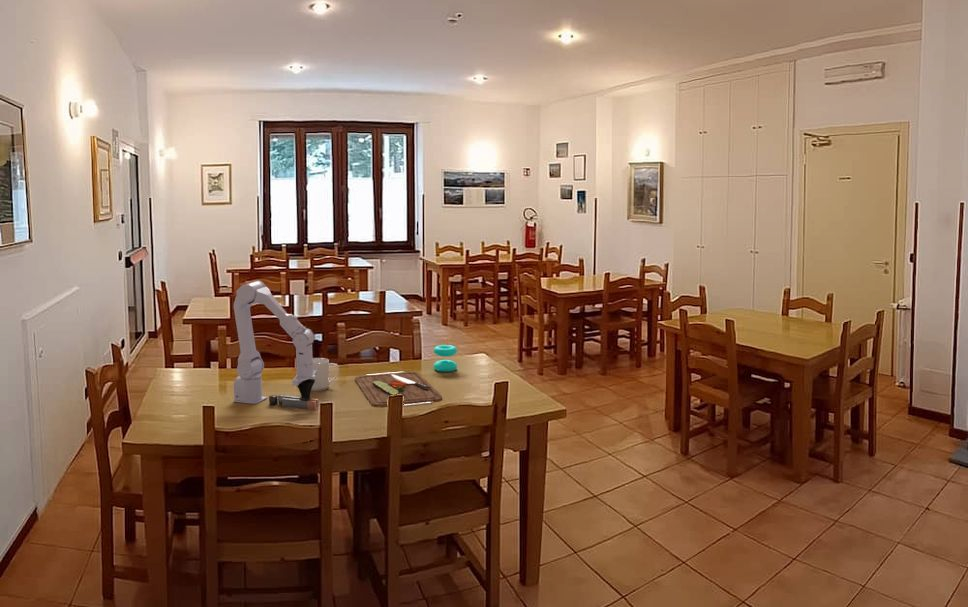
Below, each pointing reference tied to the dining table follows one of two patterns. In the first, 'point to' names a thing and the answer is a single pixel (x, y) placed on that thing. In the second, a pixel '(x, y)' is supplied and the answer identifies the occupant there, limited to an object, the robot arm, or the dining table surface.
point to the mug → (322, 374)
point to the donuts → (445, 351)
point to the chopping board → (397, 388)
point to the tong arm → (296, 398)
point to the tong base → (293, 403)
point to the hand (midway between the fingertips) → (305, 399)
